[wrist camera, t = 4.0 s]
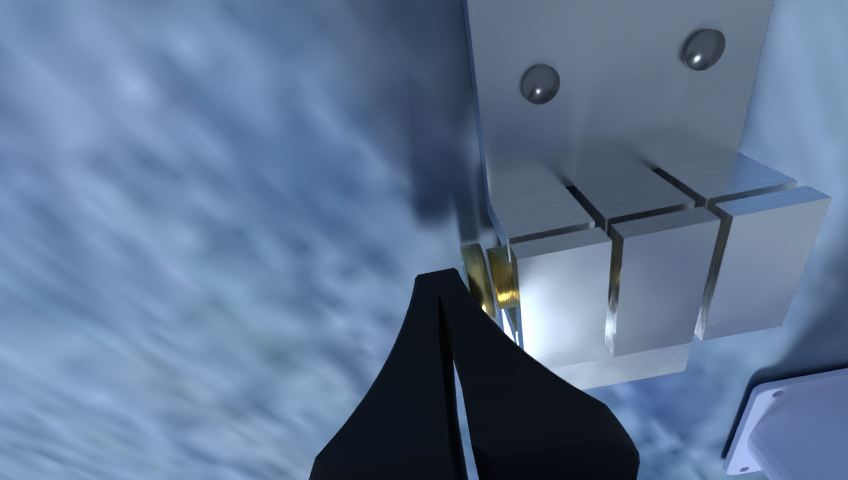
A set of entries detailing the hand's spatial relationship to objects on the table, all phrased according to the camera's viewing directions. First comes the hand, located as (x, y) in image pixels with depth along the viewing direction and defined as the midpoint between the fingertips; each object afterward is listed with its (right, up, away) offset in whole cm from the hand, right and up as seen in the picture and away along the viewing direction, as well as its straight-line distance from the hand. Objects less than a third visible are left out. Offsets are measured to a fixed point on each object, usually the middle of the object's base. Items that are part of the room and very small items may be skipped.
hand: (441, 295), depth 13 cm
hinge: (+6, +2, +2) cm, 6 cm away
